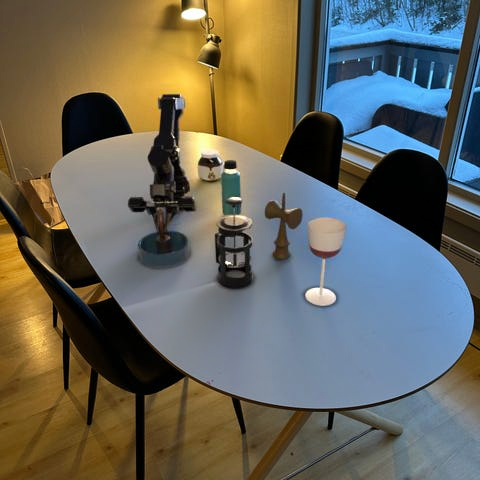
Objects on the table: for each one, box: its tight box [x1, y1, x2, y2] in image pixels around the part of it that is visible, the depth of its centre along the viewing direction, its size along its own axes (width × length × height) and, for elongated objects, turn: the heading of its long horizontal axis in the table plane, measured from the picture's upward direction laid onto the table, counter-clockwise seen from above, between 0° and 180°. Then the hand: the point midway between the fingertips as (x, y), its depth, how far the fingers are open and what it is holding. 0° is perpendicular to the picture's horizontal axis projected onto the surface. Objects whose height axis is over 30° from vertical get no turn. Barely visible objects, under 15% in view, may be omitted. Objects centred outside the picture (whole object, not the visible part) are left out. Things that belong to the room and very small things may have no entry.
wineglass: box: [305, 217, 347, 307], centre depth 107 cm, size 8×9×20 cm
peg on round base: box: [156, 208, 171, 254], centre depth 126 cm, size 4×4×14 cm
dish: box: [137, 230, 190, 267], centre depth 129 cm, size 14×14×4 cm
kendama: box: [264, 192, 304, 261], centre depth 124 cm, size 6×10×20 cm, turn 46°
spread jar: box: [197, 149, 228, 183], centre depth 183 cm, size 12×11×12 cm
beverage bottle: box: [220, 159, 242, 216], centre depth 147 cm, size 6×7×20 cm
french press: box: [214, 197, 254, 290], centre depth 114 cm, size 12×9×23 cm
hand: (161, 233), depth 125 cm, fingers closed on peg on round base, 2 cm apart
